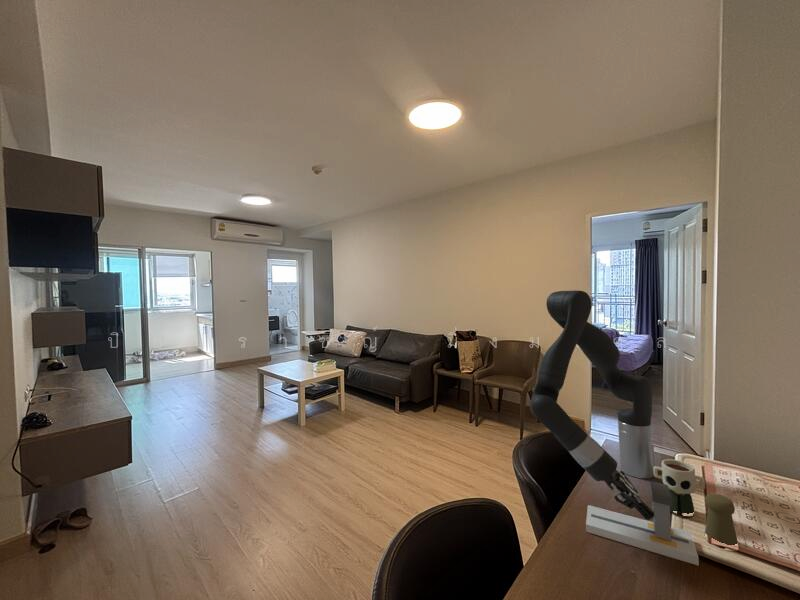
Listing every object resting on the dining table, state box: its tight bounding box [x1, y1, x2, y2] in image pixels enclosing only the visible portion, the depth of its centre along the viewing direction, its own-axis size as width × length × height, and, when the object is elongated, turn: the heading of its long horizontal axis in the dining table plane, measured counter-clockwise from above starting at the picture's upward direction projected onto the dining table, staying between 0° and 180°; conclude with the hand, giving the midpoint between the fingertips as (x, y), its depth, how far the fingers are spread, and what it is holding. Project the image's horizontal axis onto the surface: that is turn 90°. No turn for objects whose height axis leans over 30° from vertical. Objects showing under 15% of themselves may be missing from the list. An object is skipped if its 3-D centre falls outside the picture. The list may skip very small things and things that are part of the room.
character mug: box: [653, 458, 706, 514], centre depth 91 cm, size 11×7×13 cm, turn 49°
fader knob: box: [649, 480, 672, 541], centre depth 80 cm, size 4×6×11 cm, turn 147°
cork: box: [704, 493, 739, 545], centre depth 80 cm, size 6×6×11 cm
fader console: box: [585, 504, 700, 567], centre depth 83 cm, size 22×9×2 cm, turn 57°
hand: (650, 516), depth 81 cm, fingers closed
